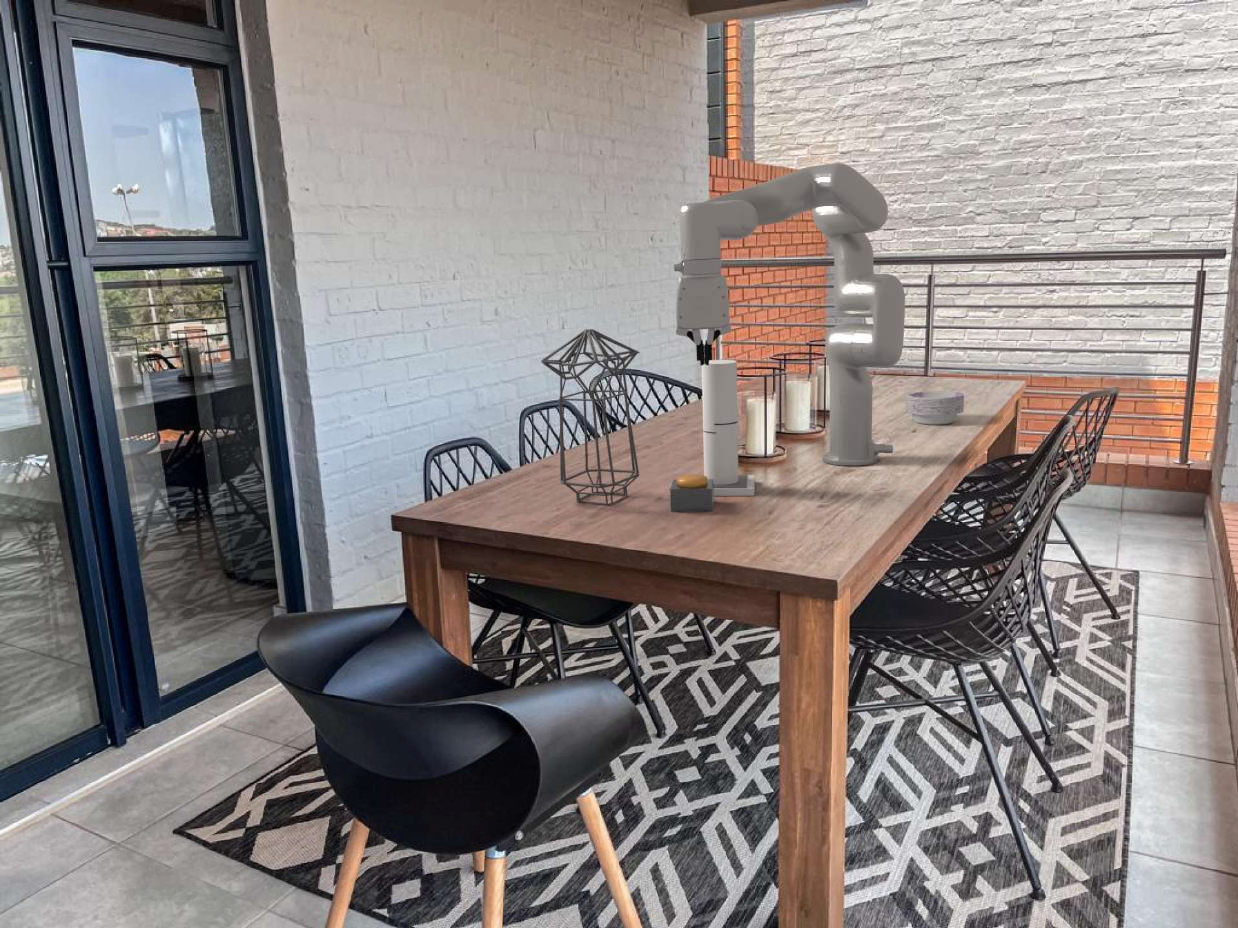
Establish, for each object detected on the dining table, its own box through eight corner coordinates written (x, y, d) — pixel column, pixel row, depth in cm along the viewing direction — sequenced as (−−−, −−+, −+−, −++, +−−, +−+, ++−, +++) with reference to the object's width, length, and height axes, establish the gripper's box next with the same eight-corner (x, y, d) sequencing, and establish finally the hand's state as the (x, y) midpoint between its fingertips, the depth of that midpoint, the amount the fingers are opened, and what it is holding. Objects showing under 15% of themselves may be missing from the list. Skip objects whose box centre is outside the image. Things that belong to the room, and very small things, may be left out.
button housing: (714, 500, 193) (713, 479, 192) (712, 511, 186) (711, 488, 185) (674, 501, 194) (673, 479, 193) (670, 511, 187) (670, 489, 186)
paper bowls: (907, 417, 276) (908, 389, 274) (964, 418, 270) (965, 390, 269) (902, 426, 262) (903, 397, 260) (962, 428, 257) (963, 398, 255)
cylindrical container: (736, 484, 198) (735, 363, 193) (702, 484, 200) (699, 364, 195) (739, 476, 205) (738, 359, 200) (706, 476, 207) (703, 360, 201)
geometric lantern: (613, 512, 188) (600, 332, 181) (548, 506, 196) (532, 334, 189) (653, 493, 201) (642, 324, 193) (590, 488, 209) (578, 326, 202)
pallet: (754, 481, 208) (754, 474, 207) (754, 495, 196) (754, 487, 196) (689, 482, 210) (689, 474, 209) (685, 496, 198) (685, 488, 198)
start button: (708, 499, 192) (708, 474, 191) (707, 507, 186) (706, 481, 185) (678, 499, 193) (678, 474, 192) (676, 507, 187) (675, 481, 186)
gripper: (660, 271, 182) (665, 368, 186) (740, 267, 180) (743, 365, 184) (664, 270, 189) (668, 363, 193) (740, 266, 187) (743, 360, 191)
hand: (704, 364), depth 189 cm, fingers closed
